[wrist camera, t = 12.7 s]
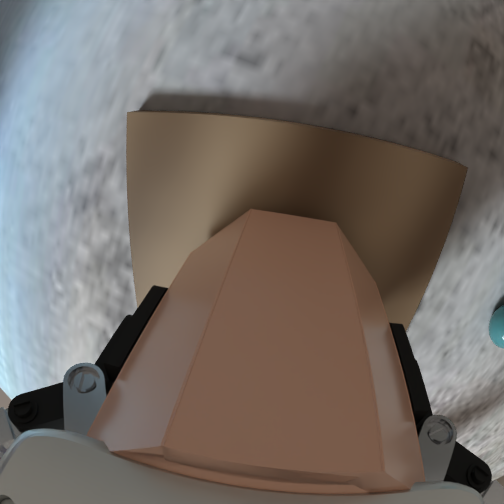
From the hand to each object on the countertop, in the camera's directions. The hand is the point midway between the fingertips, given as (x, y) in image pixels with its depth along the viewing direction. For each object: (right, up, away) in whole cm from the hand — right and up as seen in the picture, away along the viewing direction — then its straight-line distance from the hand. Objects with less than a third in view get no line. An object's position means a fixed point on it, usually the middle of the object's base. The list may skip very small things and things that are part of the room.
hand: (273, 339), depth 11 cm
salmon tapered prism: (0, +1, +2) cm, 2 cm away
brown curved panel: (+1, +2, +4) cm, 4 cm away
